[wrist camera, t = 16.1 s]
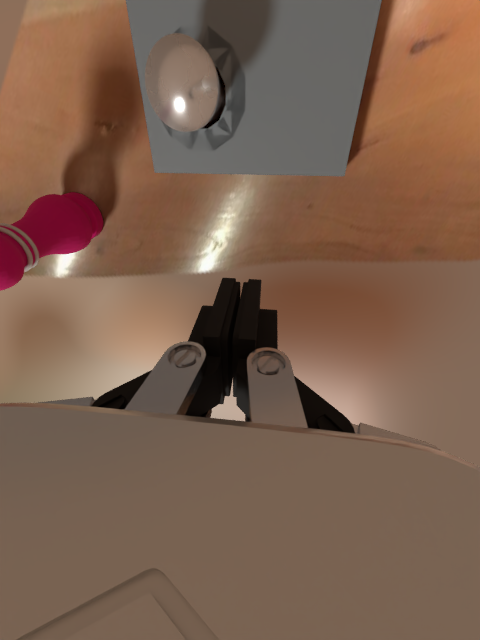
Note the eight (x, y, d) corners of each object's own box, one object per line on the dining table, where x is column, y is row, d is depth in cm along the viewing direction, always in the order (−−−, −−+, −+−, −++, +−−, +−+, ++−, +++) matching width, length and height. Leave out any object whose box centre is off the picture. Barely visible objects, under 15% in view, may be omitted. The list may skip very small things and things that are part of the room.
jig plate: (376, -8, 23) (386, -21, 21) (340, 172, 31) (344, 176, 29) (136, 1, 25) (124, -10, 23) (161, 169, 33) (154, 172, 31)
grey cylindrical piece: (231, 57, 27) (215, 31, 19) (232, 130, 30) (219, 132, 23) (174, 58, 27) (137, 34, 20) (181, 130, 31) (152, 131, 23)
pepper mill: (61, 176, 35) (-117, 219, 19) (113, 208, 37) (-11, 272, 21) (53, 221, 39) (-101, 288, 23) (100, 249, 41) (-13, 328, 25)
